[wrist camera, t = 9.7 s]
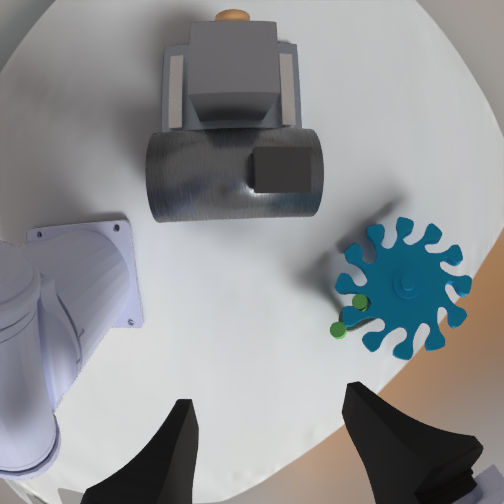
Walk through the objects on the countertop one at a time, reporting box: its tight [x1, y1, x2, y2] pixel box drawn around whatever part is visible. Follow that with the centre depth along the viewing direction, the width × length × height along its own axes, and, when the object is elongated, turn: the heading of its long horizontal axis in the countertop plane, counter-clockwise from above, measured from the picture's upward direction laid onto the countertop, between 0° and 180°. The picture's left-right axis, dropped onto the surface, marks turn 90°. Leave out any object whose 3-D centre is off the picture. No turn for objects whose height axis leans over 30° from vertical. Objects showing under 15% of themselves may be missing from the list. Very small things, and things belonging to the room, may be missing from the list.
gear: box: [330, 217, 472, 360], centre depth 19 cm, size 11×6×10 cm
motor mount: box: [146, 43, 324, 223], centre depth 14 cm, size 9×12×7 cm
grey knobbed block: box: [188, 9, 280, 121], centre depth 13 cm, size 4×5×6 cm
